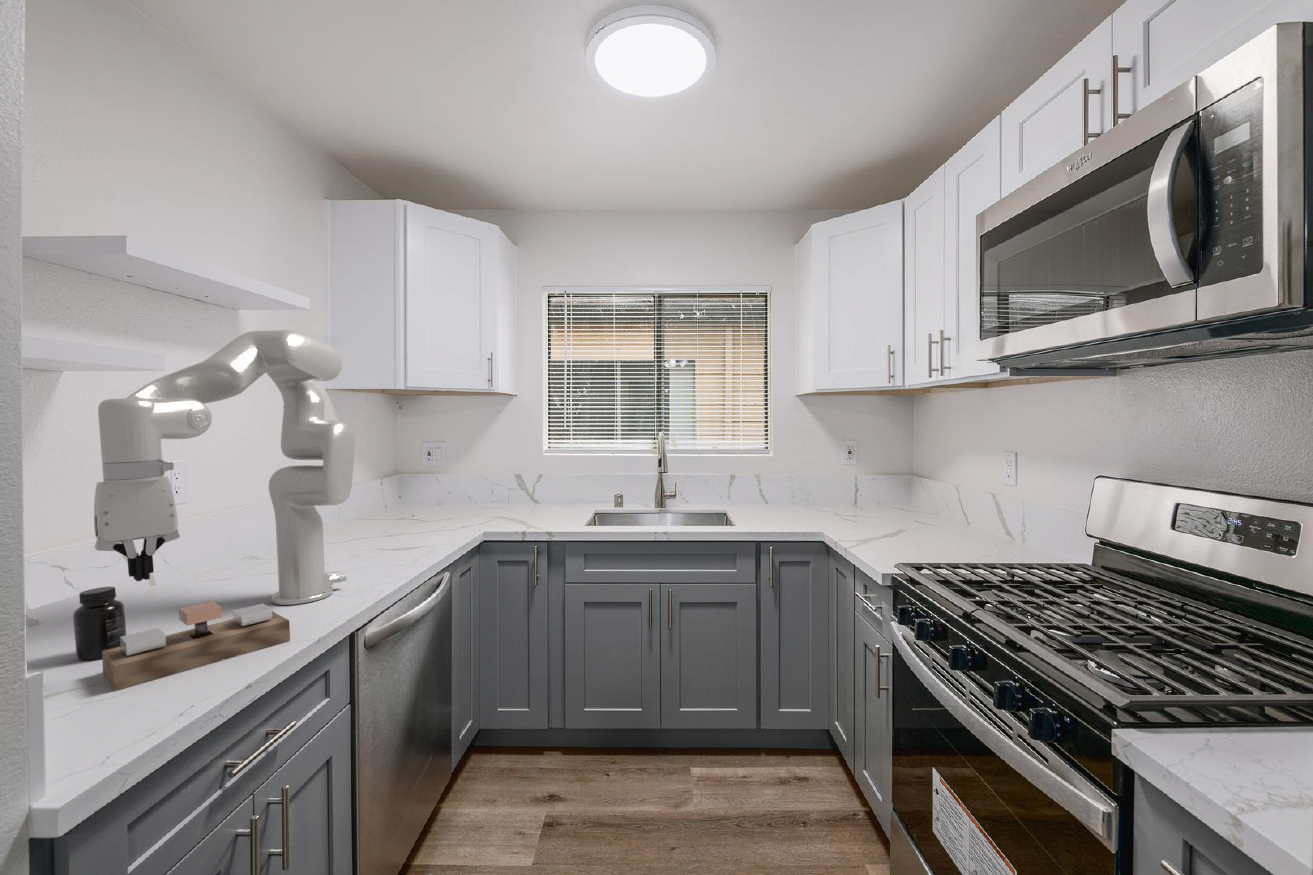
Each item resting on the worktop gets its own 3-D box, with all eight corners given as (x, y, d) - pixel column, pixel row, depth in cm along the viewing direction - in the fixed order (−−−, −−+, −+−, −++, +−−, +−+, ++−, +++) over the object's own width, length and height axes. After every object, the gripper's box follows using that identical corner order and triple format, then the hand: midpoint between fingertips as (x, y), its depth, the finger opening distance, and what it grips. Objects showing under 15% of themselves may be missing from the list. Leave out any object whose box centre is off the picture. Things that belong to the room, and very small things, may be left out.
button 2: (264, 633, 115) (262, 603, 115) (273, 638, 112) (272, 608, 111) (234, 641, 111) (232, 610, 111) (242, 647, 108) (241, 615, 108)
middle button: (214, 632, 108) (212, 601, 108) (222, 638, 105) (221, 606, 105) (180, 641, 105) (178, 608, 104) (188, 647, 101) (186, 614, 101)
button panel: (271, 629, 118) (270, 610, 118) (290, 640, 112) (289, 620, 112) (103, 674, 98) (101, 650, 98) (115, 690, 92) (113, 666, 92)
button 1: (159, 661, 102) (158, 627, 102) (167, 668, 99) (165, 634, 99) (121, 671, 98) (119, 636, 98) (128, 679, 95) (126, 643, 95)
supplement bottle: (123, 643, 112) (120, 582, 111) (130, 652, 108) (126, 588, 107) (73, 655, 107) (69, 591, 106) (78, 665, 102) (74, 598, 102)
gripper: (183, 466, 105) (190, 565, 107) (67, 475, 94) (76, 586, 95) (195, 468, 101) (202, 572, 102) (74, 478, 89) (84, 595, 90)
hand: (141, 578), depth 98 cm, fingers closed
